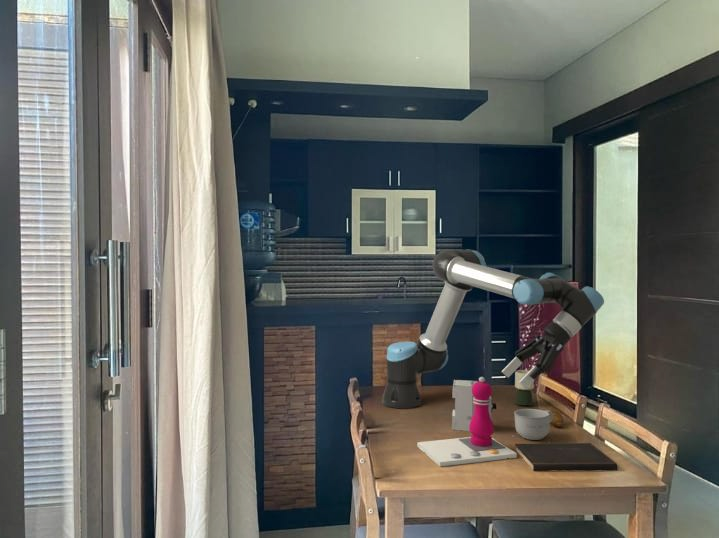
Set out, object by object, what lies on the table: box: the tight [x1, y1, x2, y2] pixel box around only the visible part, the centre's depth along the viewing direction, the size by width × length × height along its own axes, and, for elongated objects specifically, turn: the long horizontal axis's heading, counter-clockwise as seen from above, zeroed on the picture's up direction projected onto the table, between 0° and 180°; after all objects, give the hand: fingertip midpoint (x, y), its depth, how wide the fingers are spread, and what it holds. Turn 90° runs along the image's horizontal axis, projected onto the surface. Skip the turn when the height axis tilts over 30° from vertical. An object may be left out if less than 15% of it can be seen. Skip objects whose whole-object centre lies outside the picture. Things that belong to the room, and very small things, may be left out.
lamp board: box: [417, 436, 518, 468], centre depth 157 cm, size 16×24×2 cm, turn 106°
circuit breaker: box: [451, 379, 497, 432], centre depth 179 cm, size 8×14×15 cm, turn 78°
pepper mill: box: [469, 376, 495, 446], centre depth 160 cm, size 7×7×20 cm
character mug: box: [514, 369, 535, 407], centre depth 206 cm, size 11×7×13 cm, turn 7°
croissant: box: [548, 408, 564, 429], centre depth 185 cm, size 14×7×5 cm, turn 2°
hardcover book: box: [514, 442, 619, 472], centre depth 151 cm, size 16×23×2 cm
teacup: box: [513, 408, 553, 441], centre depth 170 cm, size 14×11×8 cm
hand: (513, 379), depth 160 cm, fingers open, 13 cm apart
